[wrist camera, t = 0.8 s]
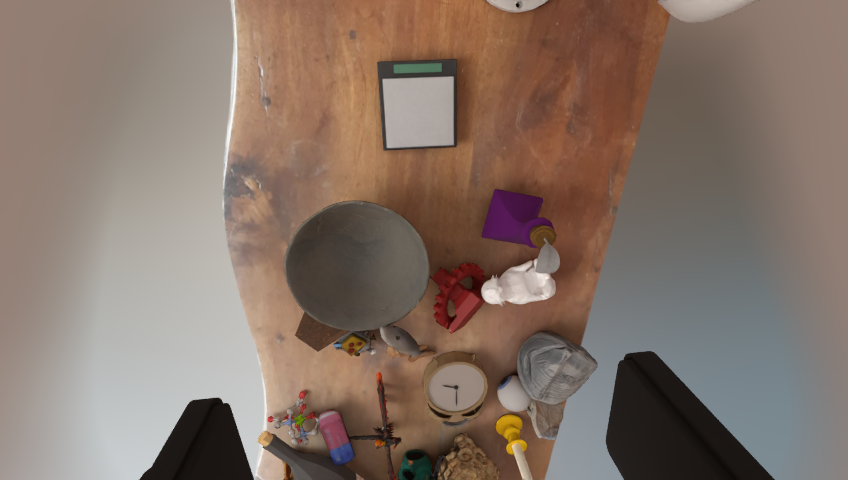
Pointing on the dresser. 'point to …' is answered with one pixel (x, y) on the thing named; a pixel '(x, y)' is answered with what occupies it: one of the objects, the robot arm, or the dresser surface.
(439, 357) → the alarm clock
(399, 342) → the fish
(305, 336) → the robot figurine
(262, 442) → the wine bottle
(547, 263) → the perfume bottle
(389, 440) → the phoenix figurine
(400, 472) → the character figurine
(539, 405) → the rock
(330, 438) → the eraser
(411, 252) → the bowl
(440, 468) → the fossil
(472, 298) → the red toothed curved piece
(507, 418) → the candle
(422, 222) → the dresser surface
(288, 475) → the figurine
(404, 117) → the scale
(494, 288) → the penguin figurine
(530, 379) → the decorative stone
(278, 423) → the molecular model
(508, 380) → the eyeball
